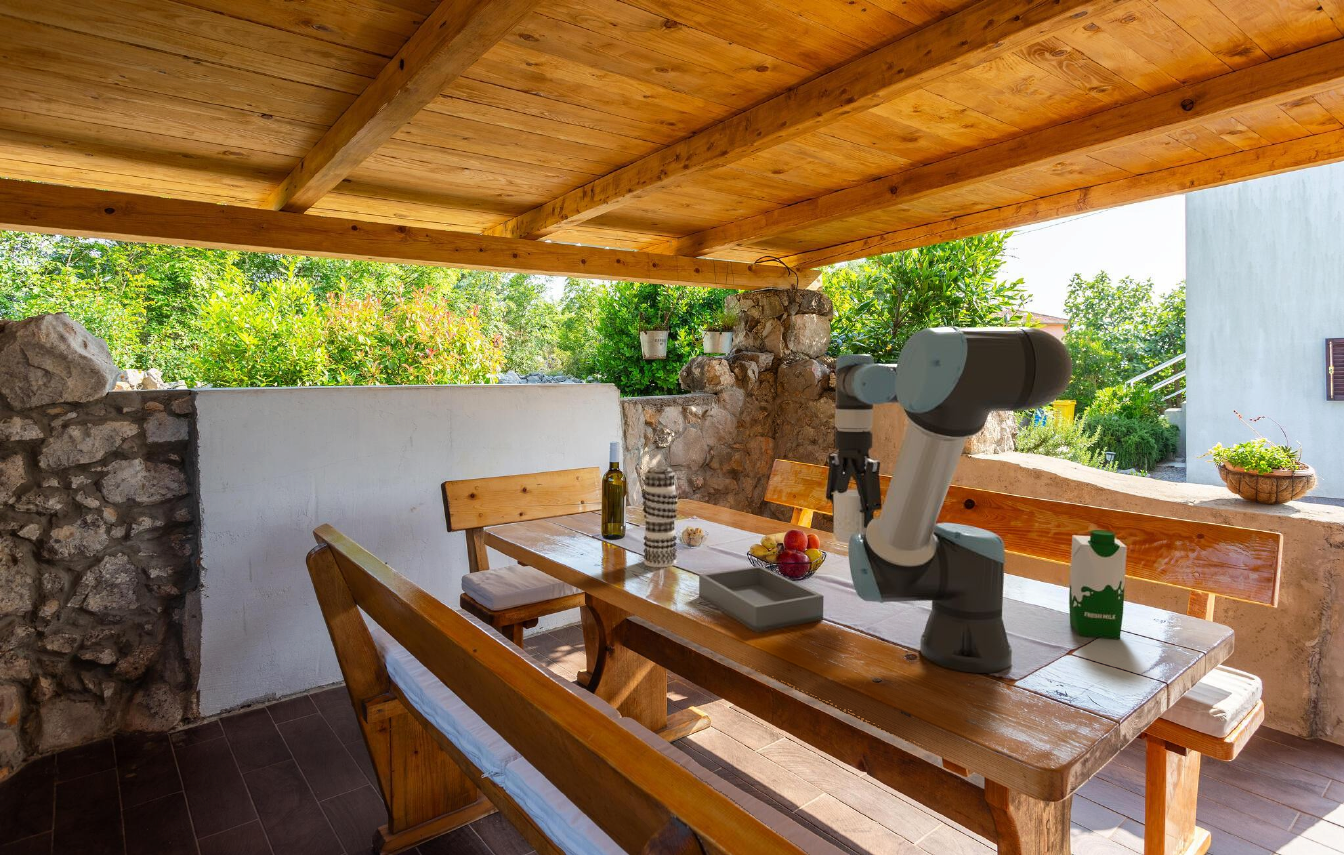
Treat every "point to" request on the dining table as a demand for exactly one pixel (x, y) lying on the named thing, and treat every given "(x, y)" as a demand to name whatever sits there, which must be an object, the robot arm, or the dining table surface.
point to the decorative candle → (659, 517)
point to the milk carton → (1097, 584)
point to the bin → (761, 598)
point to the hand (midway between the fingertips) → (852, 538)
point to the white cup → (846, 514)
